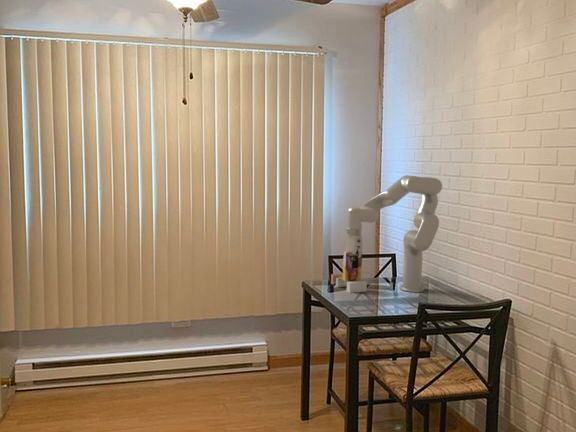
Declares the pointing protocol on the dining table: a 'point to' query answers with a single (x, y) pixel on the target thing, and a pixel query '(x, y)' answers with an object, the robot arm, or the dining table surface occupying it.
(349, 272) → the candy box
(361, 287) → the vise base
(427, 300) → the dining table surface
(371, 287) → the dining table surface
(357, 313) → the dining table surface
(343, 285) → the sliding jaw
